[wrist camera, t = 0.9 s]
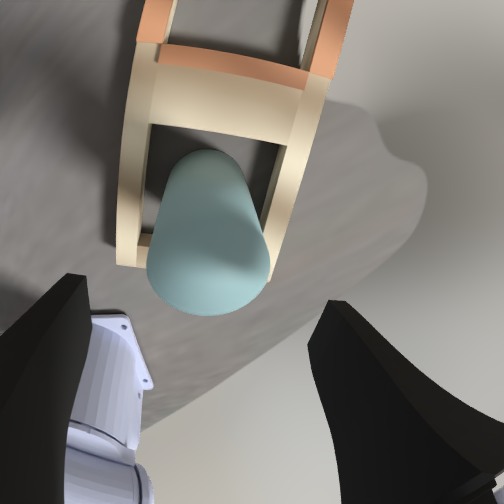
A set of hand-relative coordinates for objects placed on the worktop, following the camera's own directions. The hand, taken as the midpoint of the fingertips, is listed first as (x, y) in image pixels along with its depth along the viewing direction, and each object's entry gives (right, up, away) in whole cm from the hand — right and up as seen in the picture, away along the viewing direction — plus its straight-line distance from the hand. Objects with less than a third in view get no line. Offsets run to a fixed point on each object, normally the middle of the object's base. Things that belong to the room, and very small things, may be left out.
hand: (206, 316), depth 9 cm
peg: (-1, +6, +9) cm, 10 cm away
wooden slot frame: (0, +10, +6) cm, 12 cm away
